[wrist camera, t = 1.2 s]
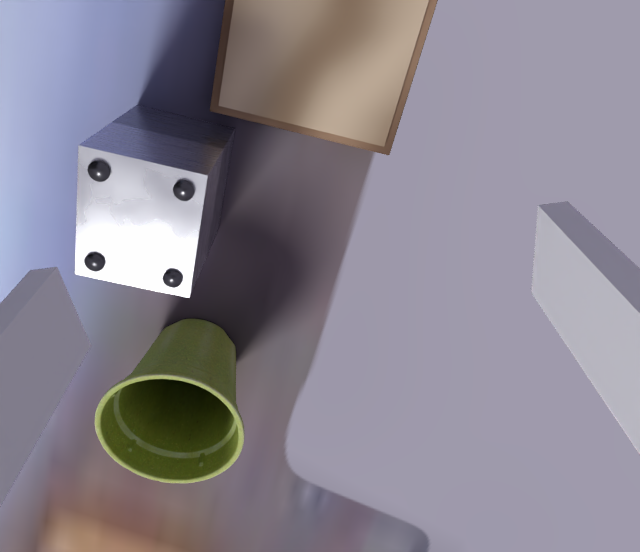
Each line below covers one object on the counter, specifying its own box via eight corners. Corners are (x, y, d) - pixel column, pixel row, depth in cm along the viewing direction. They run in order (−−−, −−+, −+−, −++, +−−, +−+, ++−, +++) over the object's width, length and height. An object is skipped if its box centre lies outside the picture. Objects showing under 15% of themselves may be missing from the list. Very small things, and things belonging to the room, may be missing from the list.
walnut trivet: (213, 106, 33) (208, 112, 31) (244, -109, 28) (240, -113, 26) (387, 149, 34) (389, 156, 33) (448, -49, 29) (454, -50, 27)
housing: (129, 208, 36) (73, 275, 28) (137, 104, 33) (77, 146, 25) (218, 228, 37) (188, 299, 29) (235, 128, 33) (207, 176, 25)
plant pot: (270, 314, 40) (257, 393, 32) (245, 407, 44) (228, 495, 37) (144, 285, 39) (99, 360, 31) (130, 383, 43) (89, 469, 36)
